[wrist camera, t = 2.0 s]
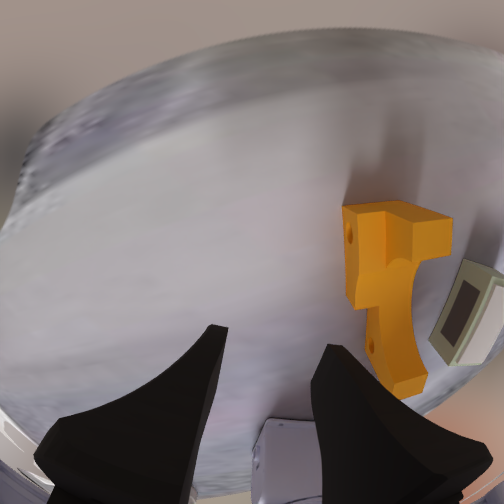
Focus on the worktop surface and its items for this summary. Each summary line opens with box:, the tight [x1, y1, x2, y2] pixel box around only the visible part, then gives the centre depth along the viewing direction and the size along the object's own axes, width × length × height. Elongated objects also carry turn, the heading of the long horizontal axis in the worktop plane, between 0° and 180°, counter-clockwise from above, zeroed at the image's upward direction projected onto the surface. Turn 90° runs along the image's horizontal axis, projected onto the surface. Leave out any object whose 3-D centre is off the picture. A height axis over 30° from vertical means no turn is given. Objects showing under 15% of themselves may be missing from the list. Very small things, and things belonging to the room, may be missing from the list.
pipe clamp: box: [342, 200, 453, 400], centre depth 16 cm, size 12×4×6 cm, turn 8°
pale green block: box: [428, 258, 504, 366], centre depth 17 cm, size 5×8×4 cm, turn 168°
